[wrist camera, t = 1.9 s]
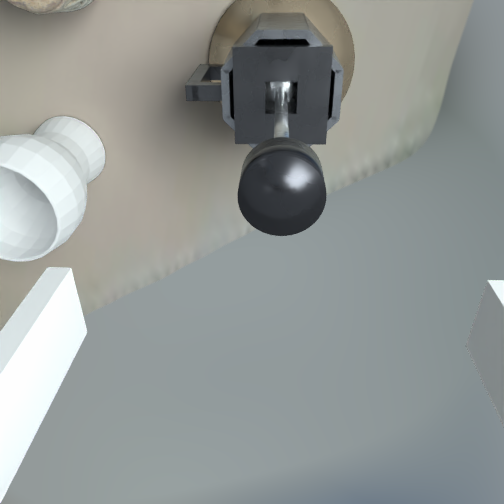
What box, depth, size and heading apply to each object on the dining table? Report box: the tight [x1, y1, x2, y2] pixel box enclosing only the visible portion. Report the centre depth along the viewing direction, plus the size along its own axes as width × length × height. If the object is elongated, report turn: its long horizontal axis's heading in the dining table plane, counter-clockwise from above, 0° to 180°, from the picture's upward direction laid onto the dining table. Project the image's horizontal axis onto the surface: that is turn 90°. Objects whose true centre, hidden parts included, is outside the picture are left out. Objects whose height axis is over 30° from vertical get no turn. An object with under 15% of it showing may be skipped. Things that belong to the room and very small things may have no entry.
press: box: [185, 0, 355, 148], centre depth 41 cm, size 14×14×12 cm
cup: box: [0, 116, 105, 262], centre depth 46 cm, size 11×11×15 cm
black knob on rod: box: [238, 82, 326, 236], centre depth 29 cm, size 6×6×19 cm
